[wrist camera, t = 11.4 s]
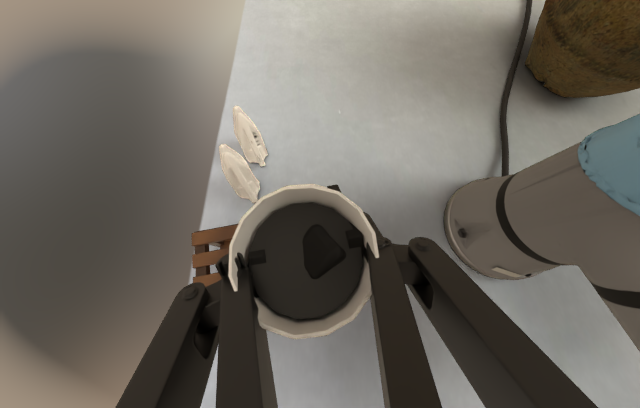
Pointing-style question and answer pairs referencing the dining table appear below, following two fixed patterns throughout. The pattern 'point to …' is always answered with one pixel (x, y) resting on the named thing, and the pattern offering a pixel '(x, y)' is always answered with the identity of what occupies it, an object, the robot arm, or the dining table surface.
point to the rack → (204, 257)
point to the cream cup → (305, 260)
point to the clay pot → (587, 47)
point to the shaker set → (235, 163)
